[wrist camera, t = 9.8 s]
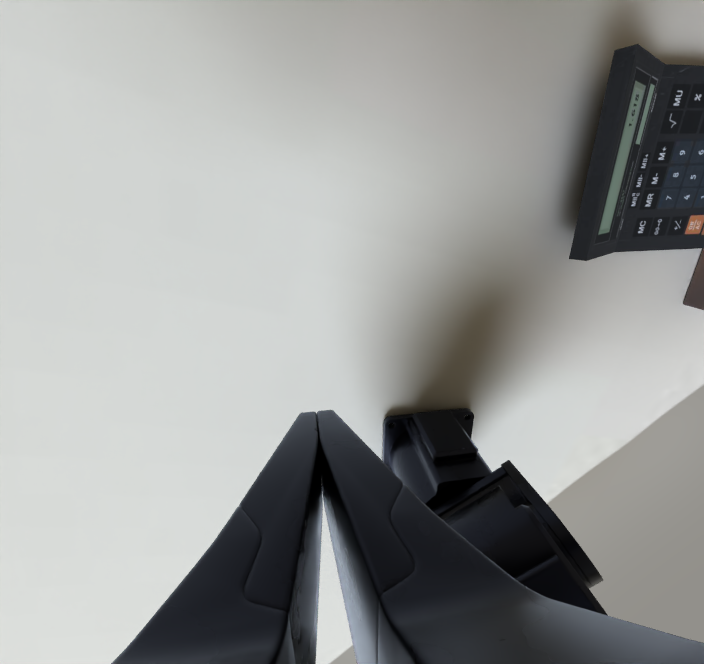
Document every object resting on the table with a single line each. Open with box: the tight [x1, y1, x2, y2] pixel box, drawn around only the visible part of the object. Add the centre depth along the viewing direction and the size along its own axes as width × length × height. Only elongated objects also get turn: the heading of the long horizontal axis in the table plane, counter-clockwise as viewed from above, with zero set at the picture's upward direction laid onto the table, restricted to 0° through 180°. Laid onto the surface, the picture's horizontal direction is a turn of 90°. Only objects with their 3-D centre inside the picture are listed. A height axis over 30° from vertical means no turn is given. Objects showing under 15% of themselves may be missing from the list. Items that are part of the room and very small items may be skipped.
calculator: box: [569, 44, 704, 261], centre depth 19 cm, size 9×12×3 cm
